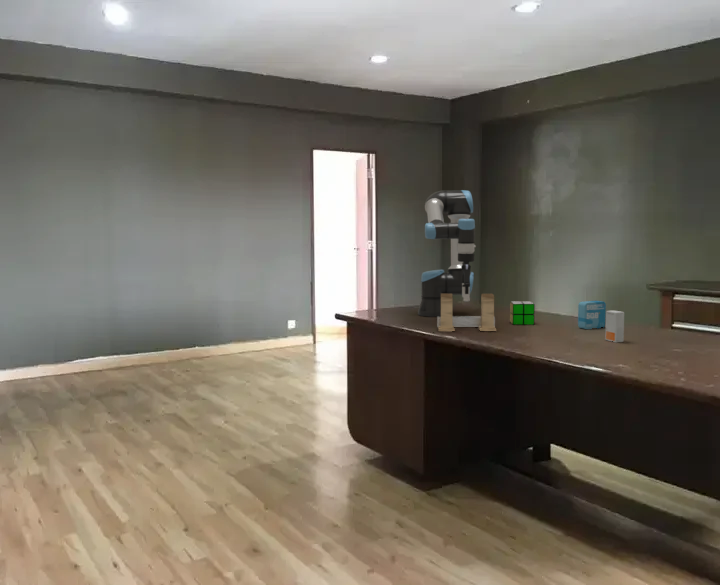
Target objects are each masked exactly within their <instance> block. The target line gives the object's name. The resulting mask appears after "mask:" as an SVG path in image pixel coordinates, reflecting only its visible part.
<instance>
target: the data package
mask: <svg viewBox="0 0 720 585" xmlns="http://www.w3.org/2000/svg"><path fill="white" fill-rule="evenodd" d="M606 307H607V303H606V302H605V301H601V300H590V301H589V300H586V301H580V302H579V303H578V306H577V308H578V309H577V311H578V312H577V326H578V328H579V329H582V330H593V329H592V328H597V329H602V328H601V327H603V328H605V327H606V311H607V310H606V309H607V308H606Z"/></svg>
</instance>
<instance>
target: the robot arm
mask: <svg viewBox="0 0 720 585" xmlns="http://www.w3.org/2000/svg"><path fill="white" fill-rule="evenodd" d="M424 210H425V213H426V214H427V222H426V223H425V225H424V237H425V239H428V240H430V239H431V240H450V266H448V268H447V272H446V271H445V269H434V270H427V271H423V272H422V273H421V278H420V279H421V281H420V282H421V290H420V291H421V298H420V299H421V300H420V303H419V307H418V310H417V315H418V316H420V317H421V316H422V317H437V316H441V294H452V295H453V296H457V295H458V296H459V295H460V296H461V298H463V299H462V301H463V302H470V300H471V297H470V295H471V293H472V290H473V286H474V272H473V271H472V270H471V269H472V268H471V267H472V266H471V264H470V263H472V262H475V253H474V252H475V248H476V247H477V245H476V244H475V236H476V235H475V233H476V232H475V231H476V225H475V224H476V221H475V219H474V218H470V217H471V214H472V213H474V201H473V196H472V193H471V191H470V190H465V189H464V190H463V189H461V190H456V189H455V190H439V191H435V192H433V193H432V194H430V195H429V196H428V197H427V198H426V200H425V203H424ZM444 214H447V217H448V219H449V220H450V222H445V220H444Z"/></svg>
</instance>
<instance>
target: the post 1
mask: <svg viewBox="0 0 720 585" xmlns="http://www.w3.org/2000/svg"><path fill="white" fill-rule="evenodd" d="M453 296H454V295H452V294H441V326H439V327H437V329H438V332H452V331H456V330H455V329H456V328H454V326H452V316H453V303H454V302H453Z"/></svg>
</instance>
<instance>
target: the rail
mask: <svg viewBox="0 0 720 585" xmlns="http://www.w3.org/2000/svg"><path fill="white" fill-rule="evenodd" d="M436 319H437V320H436V328H439V326H441V316H436ZM452 326H454V327H479V326H481V315H475V316H474V315H473V316H471V315H470V316H469V315H460V316H459V315H455V316H454V315H452ZM494 326H495V327H496V317H495V316H494Z"/></svg>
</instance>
